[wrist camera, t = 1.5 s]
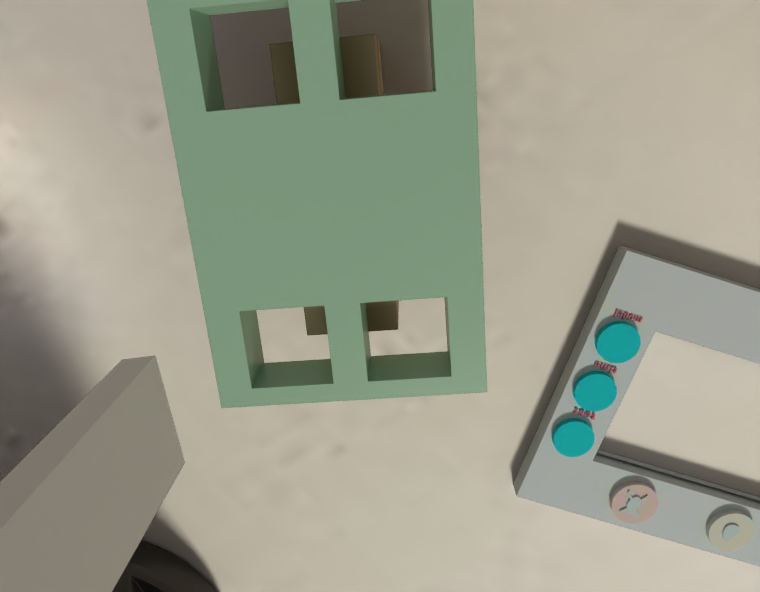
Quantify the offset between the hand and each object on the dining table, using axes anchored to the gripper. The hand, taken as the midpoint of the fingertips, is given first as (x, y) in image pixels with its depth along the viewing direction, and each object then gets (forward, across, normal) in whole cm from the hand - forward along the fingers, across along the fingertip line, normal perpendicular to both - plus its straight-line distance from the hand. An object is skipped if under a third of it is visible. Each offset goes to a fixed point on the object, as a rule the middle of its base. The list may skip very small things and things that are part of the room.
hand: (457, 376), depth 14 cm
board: (+14, -4, +2) cm, 14 cm away
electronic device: (+20, +15, -14) cm, 29 cm away
